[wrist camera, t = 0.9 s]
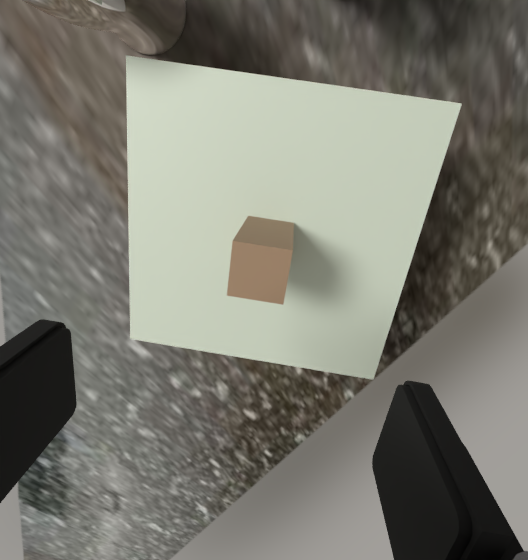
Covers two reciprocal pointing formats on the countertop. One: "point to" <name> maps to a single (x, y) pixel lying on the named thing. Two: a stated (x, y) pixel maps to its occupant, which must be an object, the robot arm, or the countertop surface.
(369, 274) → the lid
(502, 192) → the countertop surface
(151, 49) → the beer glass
